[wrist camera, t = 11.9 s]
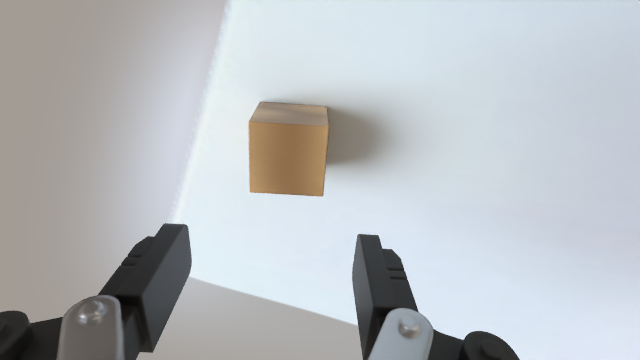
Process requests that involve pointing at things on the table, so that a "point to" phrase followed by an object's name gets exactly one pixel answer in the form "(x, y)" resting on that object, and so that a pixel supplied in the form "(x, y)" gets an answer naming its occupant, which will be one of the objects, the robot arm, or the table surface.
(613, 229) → the table surface
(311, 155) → the block
